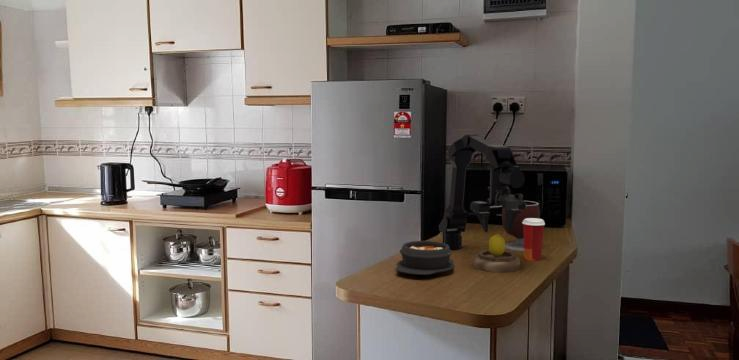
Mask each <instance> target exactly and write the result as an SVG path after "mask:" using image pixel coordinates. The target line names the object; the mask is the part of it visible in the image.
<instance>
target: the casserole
mask: <svg viewBox="0 0 739 360" xmlns="http://www.w3.org/2000/svg"><path fill="white" fill-rule="evenodd" d="M399 253H400V254H401V258H402V259H401V260H399V261H398V262H397V263H396V266H397V267H396V269H395V270H396V271H398V272H399V273H403V274H407V275H414V276H415V275H416V276H430V275H437V274H441V273H444V272H448V271H450V270H453V269H454V268H455V264H454V260H453V259H452V258H451V256H452V254H453V250H451V249H450V247H449V245H447V244H445V243H442V242H440V241H434V240H433V241H432V240H415V241H408V242H405V243H403V245H402V247H401V248H400V250H399Z"/></svg>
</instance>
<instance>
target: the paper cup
mask: <svg viewBox="0 0 739 360" xmlns="http://www.w3.org/2000/svg"><path fill="white" fill-rule="evenodd" d="M523 221H524V222H522V223H523V227H524V238H523V239H524V251H523V255H524V256H523V257H524V258H523V259H524V260H526V261H528V262H529V261H530V262H531V261H532V262H539V261H541V259H542V252H543V244H544V243H543V242H544V234H545V233H544V232H545V225H546V223H545V220H544V219H542V218H540V219H537V218H526V219H524V220H523Z"/></svg>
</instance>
